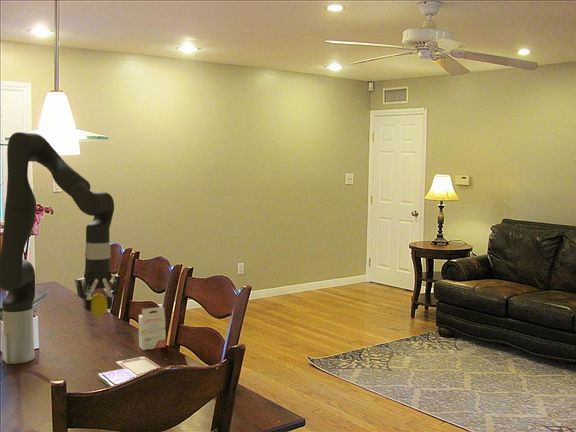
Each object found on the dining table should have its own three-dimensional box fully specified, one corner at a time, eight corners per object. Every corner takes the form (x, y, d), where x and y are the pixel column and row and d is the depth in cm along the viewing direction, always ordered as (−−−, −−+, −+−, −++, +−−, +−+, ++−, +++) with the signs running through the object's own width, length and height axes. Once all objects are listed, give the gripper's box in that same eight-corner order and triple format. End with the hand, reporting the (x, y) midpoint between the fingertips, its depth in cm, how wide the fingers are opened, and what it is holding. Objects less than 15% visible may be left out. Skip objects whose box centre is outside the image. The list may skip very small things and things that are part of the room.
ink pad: (114, 390, 183) (113, 385, 183) (98, 377, 193) (98, 372, 193) (143, 384, 188) (143, 379, 188) (126, 372, 199) (126, 367, 199)
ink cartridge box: (162, 343, 229) (161, 303, 227) (166, 347, 224) (165, 306, 223) (138, 346, 225) (138, 306, 223) (142, 350, 221) (141, 309, 219)
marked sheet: (137, 378, 193) (137, 377, 193) (115, 362, 207) (115, 361, 207) (167, 372, 199) (167, 371, 199) (144, 357, 213) (144, 356, 213)
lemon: (97, 320, 194) (97, 295, 193) (85, 317, 197) (85, 292, 196) (111, 317, 198) (111, 292, 198) (99, 314, 201) (99, 289, 201)
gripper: (78, 260, 188) (79, 315, 190) (124, 256, 197) (124, 309, 199) (70, 256, 194) (71, 310, 196) (115, 252, 203) (116, 304, 205)
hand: (98, 309), depth 197 cm, fingers closed on lemon, 5 cm apart
